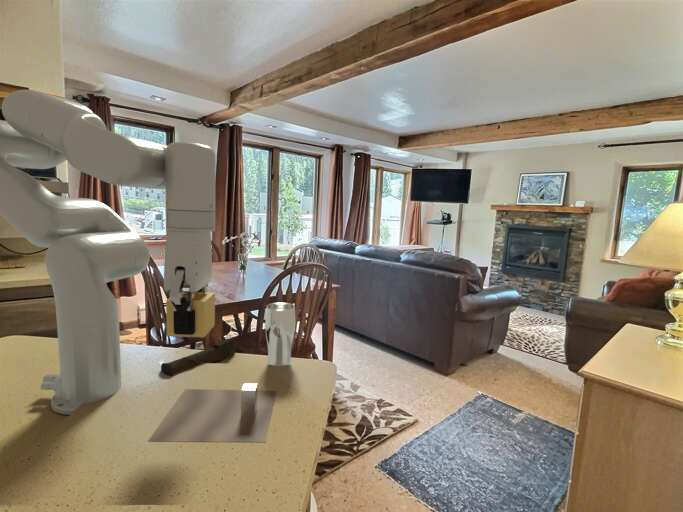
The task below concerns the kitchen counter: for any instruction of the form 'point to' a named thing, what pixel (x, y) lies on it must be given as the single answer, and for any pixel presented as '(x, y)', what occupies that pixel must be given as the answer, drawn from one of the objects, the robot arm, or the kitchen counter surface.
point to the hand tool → (201, 357)
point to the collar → (203, 314)
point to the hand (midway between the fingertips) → (191, 325)
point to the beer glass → (279, 333)
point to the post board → (218, 416)
